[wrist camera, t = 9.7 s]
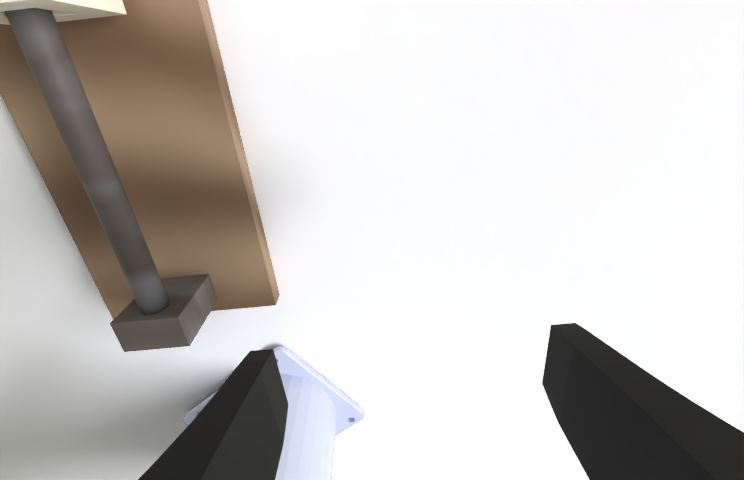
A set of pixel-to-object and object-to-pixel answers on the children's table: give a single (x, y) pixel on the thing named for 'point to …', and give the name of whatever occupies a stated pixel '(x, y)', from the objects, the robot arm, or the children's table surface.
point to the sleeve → (66, 8)
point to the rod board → (142, 161)
